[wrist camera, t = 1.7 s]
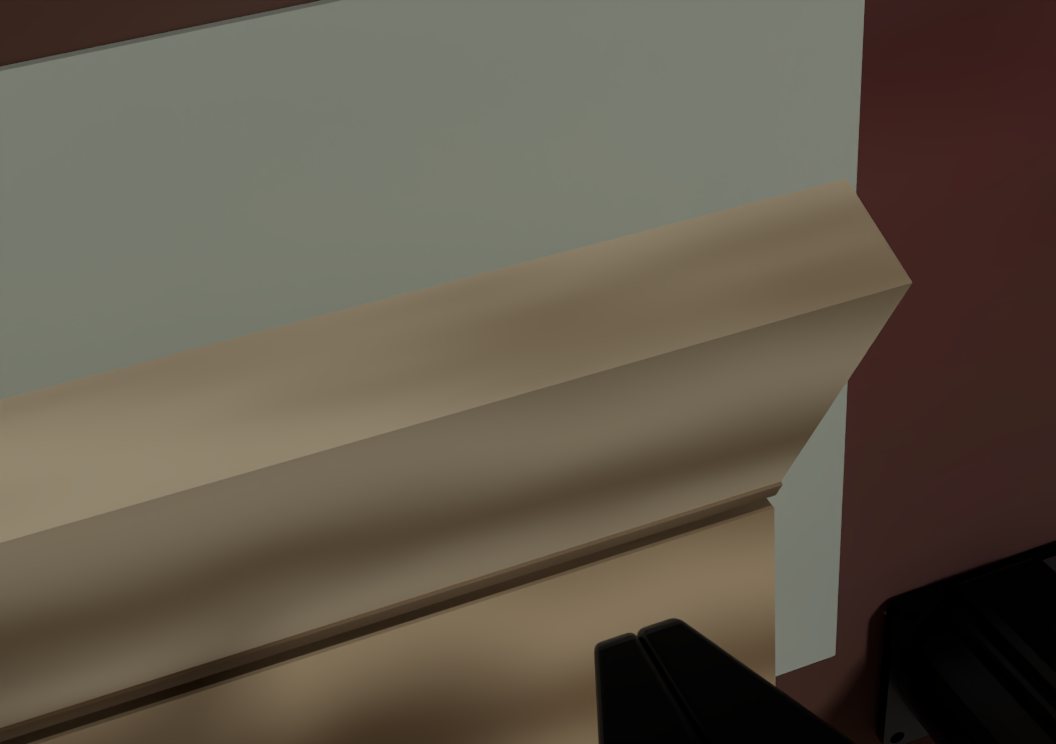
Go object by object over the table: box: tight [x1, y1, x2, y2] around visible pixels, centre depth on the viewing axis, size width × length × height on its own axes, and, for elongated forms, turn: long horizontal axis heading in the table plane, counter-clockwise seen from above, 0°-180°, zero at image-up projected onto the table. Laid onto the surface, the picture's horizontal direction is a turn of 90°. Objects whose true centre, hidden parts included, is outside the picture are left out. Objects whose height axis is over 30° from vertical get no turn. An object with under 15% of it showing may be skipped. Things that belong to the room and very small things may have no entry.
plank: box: [0, 178, 912, 742], centre depth 15 cm, size 8×24×2 cm
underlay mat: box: [0, 0, 865, 676], centre depth 19 cm, size 20×30×1 cm, turn 99°
